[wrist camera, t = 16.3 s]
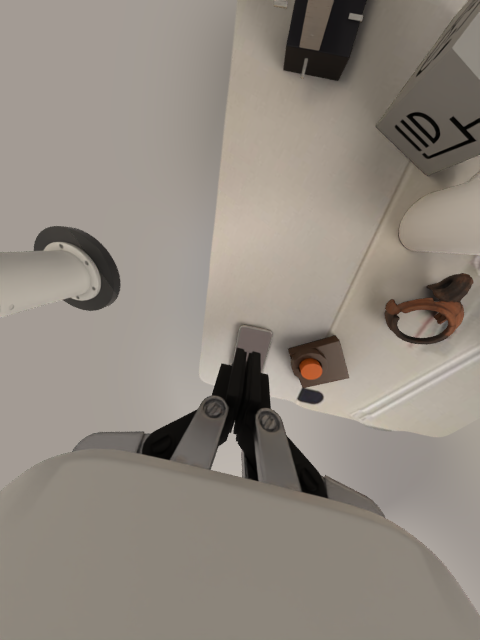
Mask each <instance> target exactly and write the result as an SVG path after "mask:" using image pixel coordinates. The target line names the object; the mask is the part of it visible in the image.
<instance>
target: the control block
mask: <svg viewBox="0 0 480 640" xmlns="http://www.w3.org/2000/svg"><path fill="white" fill-rule="evenodd" d="M288 350H289V354H290V357H291V359H292V360H291V367H292V370H293V372H294V374H295V375H296V376H297V377H299V380H300V382H301V385H302V387H303V388H306V387H310V386H315V385H320V384H324V383H329V382H333V381H338V380H342V379H347V378H349V375H348V371H347V367H346V363H345V359H344V355H343V352H342V348H341V344H340V341H339V339H338V338H337V337H336V336H331V337H328V338H324V339H321V340H317V341H314V342H310V343H307V344H303V345H300V346H296V347H293V348H289V349H288ZM308 358H312V359H316V360H317V361H318V362H319V364H320V366H321V368H322V374H321V376H320V377H319V378H317V379H313V380H309V379H306V378H304V377H303V376H302V374H301V371H300V368H299V366H300V363H301V362H302V361H303V360H305V359H308Z"/></svg>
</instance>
